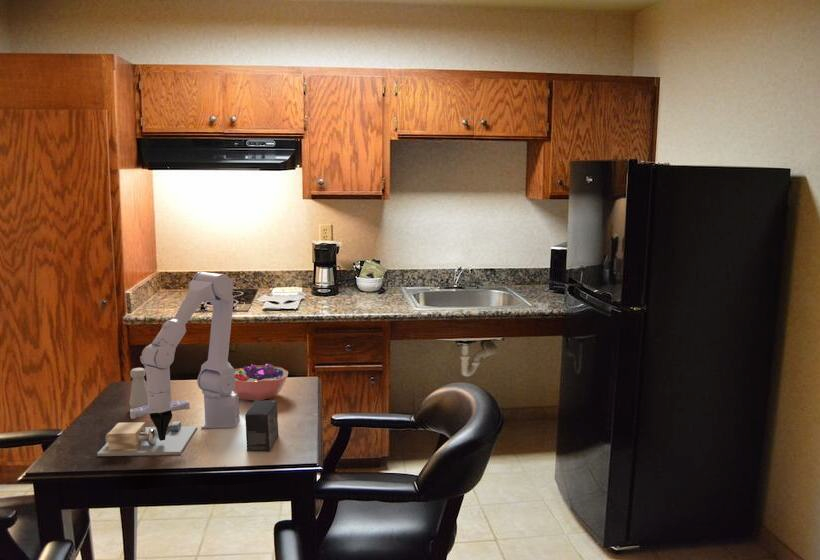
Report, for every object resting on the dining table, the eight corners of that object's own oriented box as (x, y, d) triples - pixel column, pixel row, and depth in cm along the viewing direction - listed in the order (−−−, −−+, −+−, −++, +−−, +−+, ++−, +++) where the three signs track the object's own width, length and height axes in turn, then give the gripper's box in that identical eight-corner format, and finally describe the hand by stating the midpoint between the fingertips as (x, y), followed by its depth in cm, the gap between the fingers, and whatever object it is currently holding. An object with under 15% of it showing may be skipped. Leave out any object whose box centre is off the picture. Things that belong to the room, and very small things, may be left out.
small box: (255, 435, 185) (254, 399, 184) (279, 436, 185) (278, 399, 183) (245, 451, 175) (243, 413, 173) (270, 452, 175) (268, 413, 173)
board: (197, 428, 190) (197, 426, 189) (180, 454, 173) (180, 451, 173) (121, 430, 188) (121, 427, 188) (97, 456, 172) (97, 453, 171)
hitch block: (146, 438, 181) (145, 422, 180) (136, 450, 173) (135, 433, 172) (119, 439, 180) (118, 422, 179) (108, 451, 173) (107, 433, 172)
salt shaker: (143, 414, 201) (140, 372, 198) (125, 412, 202) (123, 371, 199) (154, 407, 206) (151, 366, 204) (137, 405, 207) (134, 365, 205)
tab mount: (181, 427, 188) (180, 421, 188) (178, 432, 185) (177, 425, 185) (173, 428, 188) (173, 421, 188) (170, 432, 185) (170, 425, 185)
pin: (157, 440, 179) (156, 426, 178) (152, 447, 175) (151, 432, 174) (110, 441, 178) (109, 427, 178) (104, 447, 174) (103, 433, 174)
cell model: (234, 388, 224) (233, 356, 222) (294, 390, 223) (293, 357, 221) (218, 406, 207) (217, 371, 205) (282, 408, 206) (281, 372, 204)
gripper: (184, 381, 182) (187, 428, 184) (127, 389, 175) (130, 438, 177) (190, 388, 175) (192, 437, 178) (130, 397, 169) (134, 448, 171)
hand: (162, 439), depth 177 cm, fingers closed
